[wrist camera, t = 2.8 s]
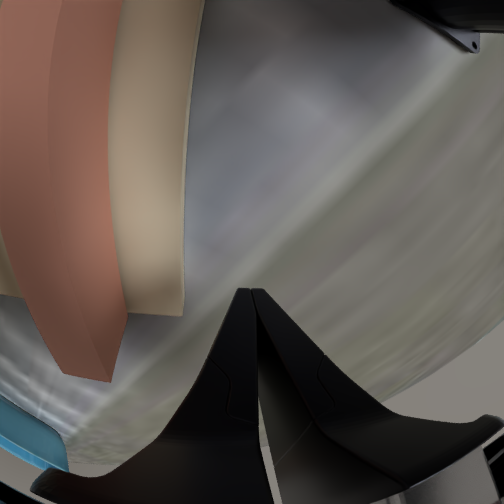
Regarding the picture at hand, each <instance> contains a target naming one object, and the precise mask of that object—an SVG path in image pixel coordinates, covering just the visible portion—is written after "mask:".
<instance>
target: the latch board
mask: <svg viewBox="0 0 504 504" xmlns="http://www.w3.org/2000/svg"><path fill="white" fill-rule="evenodd" d="M2 2H3V0H0V8H1V5H2ZM204 4H205V0H123V2H122V6H121V11H120V16H119V21H118V26H117V32H116V38H115V44H114V51H113V59H112V68H111V78H110V90H109V107H108V174H109V191H110V204H111V215H112V225H113V233H114V241H115V248H116V255H117V262H118V268H119V274H120V279H121V285H122V290H123V295H124V300H125V305H126V309H127V312H128V313H140V314H152V315H167V316H183V307H184V299H185V291H184V199H185V173H186V155H187V139H188V126H189V114H190V104H191V94H192V85H193V76H194V68H195V60H196V53H197V46H198V39H199V33H200V27H201V21H202V15H203V9H204ZM0 294H2V295H7V296H12V297H18V298H23V299H24V297H23V295H22V293H21V290H20V288H19V285H18V283H17V280H16V277H15V274H14V272H13V269H12V266H11V263H10V260H9V257H8V254H7V251H6V247H5V244H4V241H3V237H2V233H1V229H0Z"/></svg>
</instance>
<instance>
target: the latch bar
mask: <svg viewBox="0 0 504 504" xmlns="http://www.w3.org/2000/svg"><path fill="white" fill-rule="evenodd" d="M122 2H123V0H3V2H2V5H1V8H0V229H1V233H2V237H3V241H4V244H5V247H6V251H7V254H8V257H9V260H10V263H11V266H12V269H13V272H14V274H15V277H16V280H17V283H18V285H19V288H20V290H21V293H22V295H23V297H24V300H25V302H26V304H27V307H28V309H29V311H30V313H31V316H32V318H33V320H34V322H35V324H36V326H37V328H38V330H39V332H40V334H41V336H42V338H43V340H44V341H45V343H46V345H47V347H48V349H49V351H50V352H51V354H52V356H53V358H54V359H55V361H56V363H57V364H58V366H59V368H60V369H61V371H62V372H63V373H64V374H68V375H73V376H77V377H82V378H87V379H92V380H98V381H104V382H110V383H111V380H112V376H113V371H114V367H115V363H116V359H117V355H118V351H119V347H120V344H121V340H122V336H123V333H124V329H125V326H126V322H127V319H128V314H127V309H126V305H125V300H124V295H123V290H122V285H121V279H120V274H119V268H118V262H117V255H116V248H115V241H114V233H113V225H112V215H111V204H110V191H109V174H108V107H109V90H110V78H111V68H112V59H113V51H114V44H115V38H116V32H117V26H118V21H119V16H120V11H121V6H122Z"/></svg>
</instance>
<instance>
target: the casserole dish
mask: <svg viewBox="0 0 504 504" xmlns="http://www.w3.org/2000/svg"><path fill="white" fill-rule="evenodd" d="M0 447H1V448H3V449H5V450H6V451H9V452H10V453H11V454H13V455H15V456H17V457H19V458H20V459H22V460H24V461H26V462H27V463H29V464H31V465H33V466H36V467H38V468H40V469H42V470H46V469H47V468H56V469H60V470H63V471H66V472H69V468H68V460H67V453H66V448H65V445H64V442H63V440H62V439H61V438H60V436H59V435H58V433H57V432H56V431H55V430H54V429H52V428H51V427H49V426H48V425H46V424H44V423H43V422H41V421H40V420H38V419H36V418H35V417H33V416H32V415H30V414H28V413H27V412H25V411H24V410H22V409H20V408H19V407H17V406H16V405H14V404H13V403H11V402H10V401H9V400H7V399H6V398H4V397H3V396H1V395H0Z"/></svg>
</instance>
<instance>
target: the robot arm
mask: <svg viewBox="0 0 504 504" xmlns="http://www.w3.org/2000/svg"><path fill="white" fill-rule="evenodd" d="M389 1H390V2H391V3H392V4H394V5H395V6H397V7H399V8H401V9H403V10H405V11H407V12H408V13H410V14H412V15H414V16H416V17H418V18H419V19H421V20H423V21H424V22H426V23H428V24H429V25H431V26H433V27H434V28H436V29H437V30H439V31H441V32H442V33H444V34H445V35H447V36H448V37H450V38H451V39H452V40H454V41H455V42H457V43H458V44H459V45H461V46H462V47H463V48H465V49H466V50H467V51H469V52H470V53H479V50H480V33H503V34H504V0H389ZM258 397H259V401H260V406H261V411H262V415H263V420H264V425H265V429H266V434H267V438H268V443H269V447H270V452H271V456H272V460H273V465H274V470H275V474H276V478H277V483H278V487H279V491H280V495H281V499H282V503H283V504H504V433H503V434H502V435H501V436H499V437H498V438H497V439H495V440H494V441H493V442H491V443H490V444H489V445H487V446H486V447H484V448H483V449H482V447H481V445H482V444H483V443H485V442H486V441H487V440H489V439H490V438H491V437H492V436H493V435H495V434H496V433H497V432H498V431H500V430H501V429H502V428H503V427H504V420H503V419H501V418H500V417H497V416H493V415H488V414H485V415H483V416H481V417H480V418H478V419H477V420H475V421H473V422H469V423H450V422H441V421H433V420H426V419H420V418H414V417H408V416H402V415H399V414H397V413H395V412H392V411H391V410H389V409H387V408H386V407H385V406H383V405H382V404H381V403H379V402H378V401H377V400H376V399H374V398H373V397H372V396H371V395H369V394H368V393H367V392H366V391H365V390H363V389H362V388H361V387H360V386H358V385H357V384H356V383H355V382H354V381H353V380H351V379H350V378H349V377H348V376H347V375H346V374H345V373H343V372H342V371H341V370H340V369H339V368H338V367H337V366H336V365H335V364H334V363H333V362H332V361H331V360H330V359H329V358H328V357H327V355H324V352H323V351H322V350H321V349H320V348H319V347H318V346H317V345H316V344H315V343H314V342H313V341H312V340H311V339H310V338H309V337H308V336H307V335H306V334H305V333H304V331H303V330H302V329H301V328H300V327H299V326H298V325H297V324H296V323H295V322H294V321H293V320H292V319H291V318H290V317H289V316H288V314H287V313H286V312H285V311H284V310H283V309H282V308H281V307H280V306H279V305H278V304H277V303H276V302H275V301H274V300H273V298H272V297H271V296H270V295H269V294H268V293H267V292H266V291H265V290H264V289H262V288H252V289H251V290H250V289H249V288H238V289H237V290H236V293H235V295H234V297H233V300H232V302H231V304H230V306H229V309H228V311H227V313H226V315H225V318H224V320H223V322H222V324H221V327H220V329H219V331H218V334H217V336H216V338H215V340H214V343H213V345H212V347H211V349H210V352H209V354H208V356H207V359H206V360H205V363H204V365H203V367H202V369H201V371H200V373H199V375H198V377H197V379H196V381H195V383H194V384H193V386H192V388H191V389H190V391H189V393H188V394H187V396H186V397H185V399H184V400H183V402H182V403H181V405H180V406H179V408H178V409H177V411H176V412H175V414H174V415H173V417H172V418H171V420H170V421H169V423H168V424H167V425H166V427H165V428H164V430H163V431H162V432H161V433H160V434H159V436H158V437H157V438H156V439H155V440H154V441H153V442H152V443H150V444H149V445H148V446H146V447H145V448H144V449H142V450H141V451H140V452H138V453H137V454H135V455H134V456H133V457H131V458H130V459H129V460H127V461H126V462H124V463H123V464H121V465H120V466H119V467H117V468H116V469H114V470H113V471H112V472H110V473H108V474H106V475H103V476H99V477H89V478H88V477H82V476H79V475H76V474H73V473H70V472H66V471H63V470H60V469H56V468H47V469H46V470H45V471H44V472H43V473H42V474H41V475H40V476H39V477H38V478H37V479H36V480H35V481H34V482H33V484H32V486H31V488H30V491H31V492H32V493H34V494H36V495H38V496H40V497H42V498H44V499H47V500H49V501H51V502H54V503H57V504H274V501H273V497H272V493H271V489H270V485H269V481H268V477H267V473H266V469H265V465H264V461H263V457H262V452H261V448H260V442H259V427H258V426H259V410H258ZM0 504H44V503H42V502H40V501H38V500H36V499H33V498H32V497H29V496H27V495H25V494H23V493H22V492H20V491H18V490H16V489H14V488H12V487H10V486H9V485H7V484H5V483H3V482H2V481H0Z"/></svg>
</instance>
